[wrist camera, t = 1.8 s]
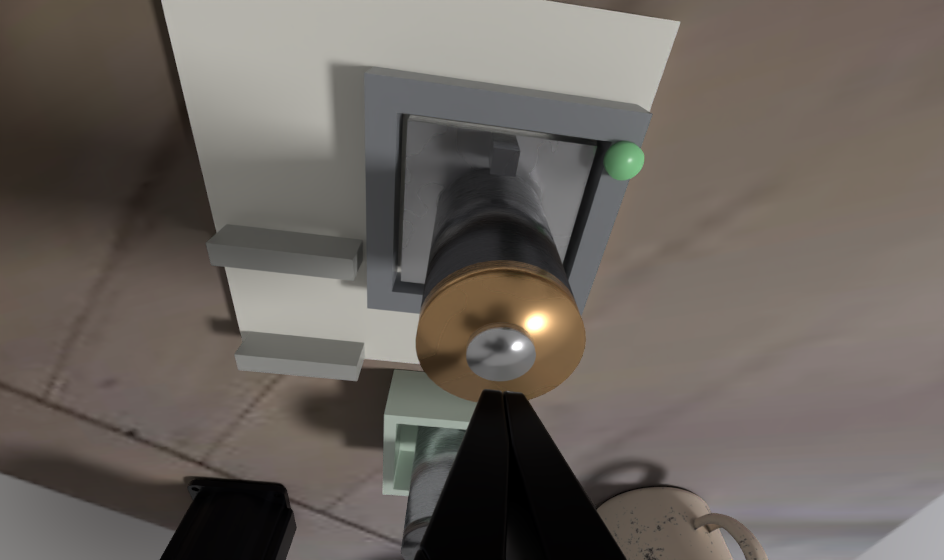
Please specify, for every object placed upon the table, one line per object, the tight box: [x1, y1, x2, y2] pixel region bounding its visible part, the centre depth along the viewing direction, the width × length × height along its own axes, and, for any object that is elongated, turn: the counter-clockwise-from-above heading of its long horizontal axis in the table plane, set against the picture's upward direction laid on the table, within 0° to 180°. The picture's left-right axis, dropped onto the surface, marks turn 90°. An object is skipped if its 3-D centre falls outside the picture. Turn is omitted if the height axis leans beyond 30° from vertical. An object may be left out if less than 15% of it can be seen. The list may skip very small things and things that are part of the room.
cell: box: [415, 169, 586, 402], centre depth 13 cm, size 4×4×7 cm
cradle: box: [401, 115, 597, 284], centre depth 15 cm, size 6×6×3 cm
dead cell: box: [401, 425, 466, 560], centre depth 21 cm, size 4×4×7 cm
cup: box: [383, 369, 477, 496], centre depth 24 cm, size 7×7×3 cm
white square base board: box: [161, 0, 680, 381], centre depth 16 cm, size 16×16×3 cm
